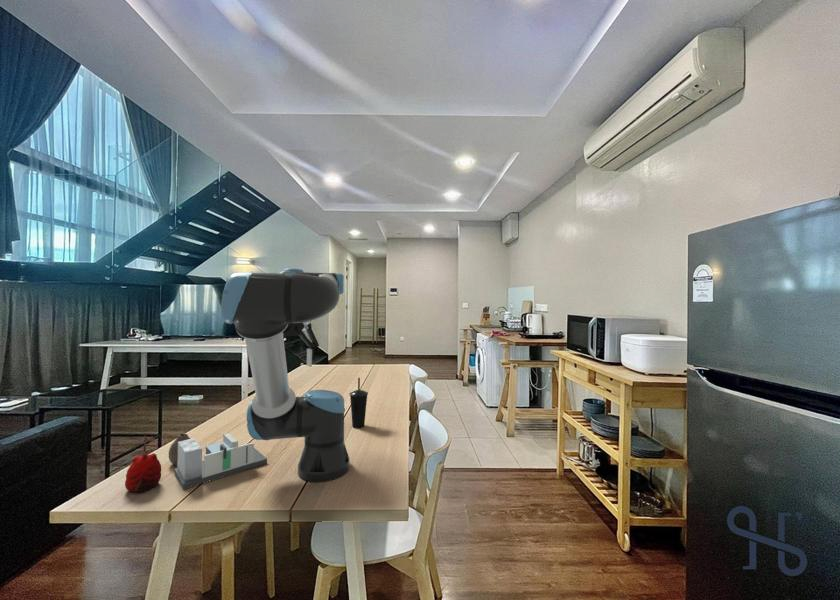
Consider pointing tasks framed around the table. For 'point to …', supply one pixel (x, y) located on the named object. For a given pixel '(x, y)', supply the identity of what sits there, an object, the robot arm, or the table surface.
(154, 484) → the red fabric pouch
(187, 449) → the white vise jaw block
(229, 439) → the gauge plunger
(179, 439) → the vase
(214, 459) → the base
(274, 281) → the robot arm
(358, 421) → the drinking cup
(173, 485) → the table surface
